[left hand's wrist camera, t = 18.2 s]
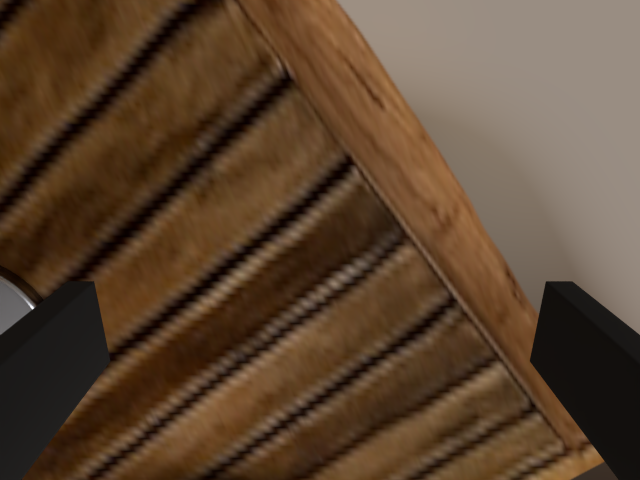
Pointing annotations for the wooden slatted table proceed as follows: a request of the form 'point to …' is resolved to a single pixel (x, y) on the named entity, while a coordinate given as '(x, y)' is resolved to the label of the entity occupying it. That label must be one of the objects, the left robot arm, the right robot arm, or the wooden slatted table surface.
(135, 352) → the wooden slatted table surface
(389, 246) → the wooden slatted table surface
